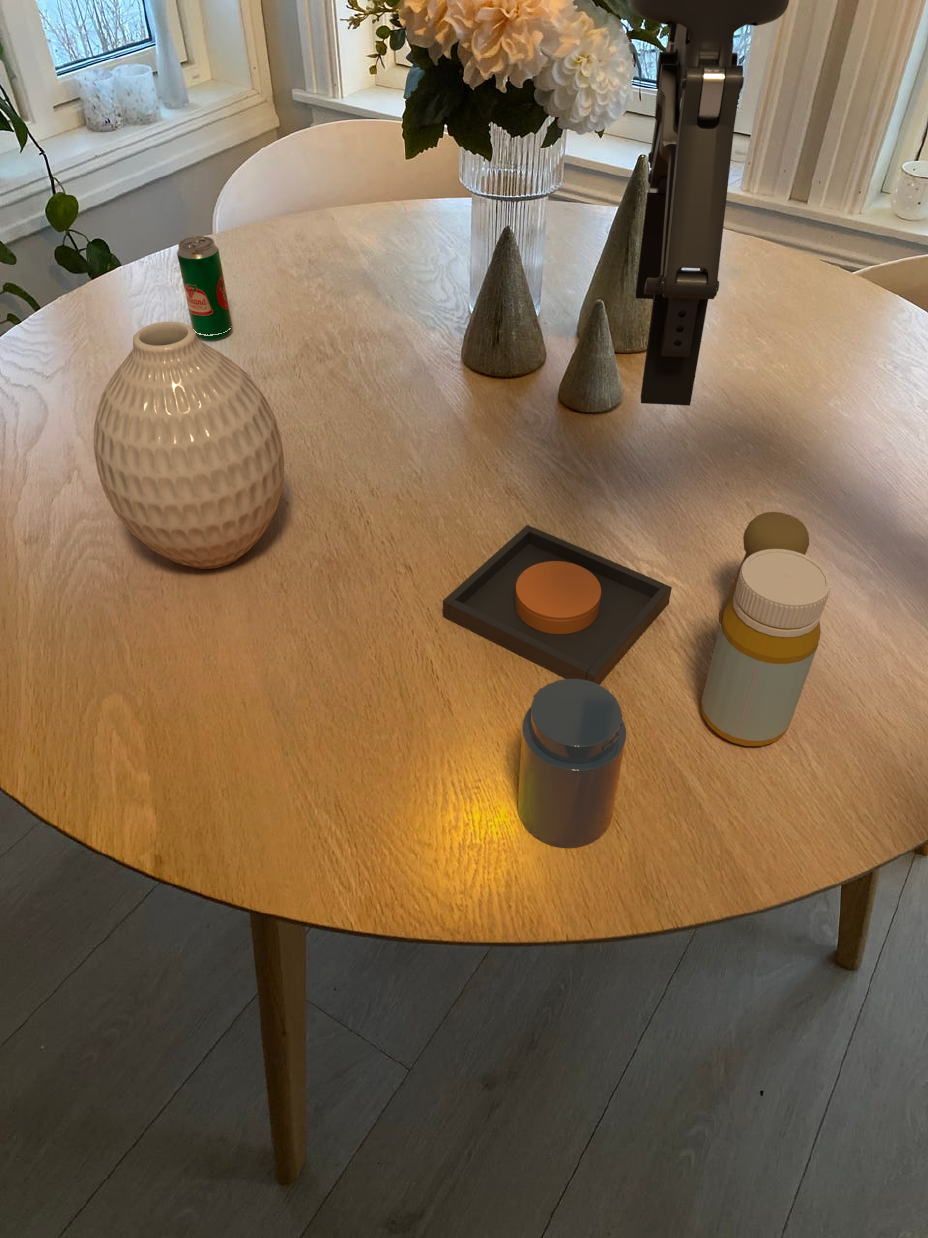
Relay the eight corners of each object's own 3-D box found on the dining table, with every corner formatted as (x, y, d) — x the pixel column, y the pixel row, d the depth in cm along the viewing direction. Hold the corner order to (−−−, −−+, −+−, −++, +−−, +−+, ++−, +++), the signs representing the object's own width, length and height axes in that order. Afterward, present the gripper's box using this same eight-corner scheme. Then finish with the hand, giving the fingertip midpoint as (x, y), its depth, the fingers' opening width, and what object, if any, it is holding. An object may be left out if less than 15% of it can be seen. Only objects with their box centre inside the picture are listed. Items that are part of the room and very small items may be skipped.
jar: (629, 799, 71) (648, 702, 64) (580, 865, 67) (595, 770, 60) (550, 755, 74) (559, 658, 67) (499, 816, 70) (502, 720, 63)
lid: (497, 611, 86) (498, 594, 84) (543, 567, 90) (544, 550, 89) (570, 646, 83) (572, 629, 81) (614, 599, 87) (616, 581, 86)
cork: (784, 652, 83) (816, 553, 75) (714, 636, 84) (738, 537, 77) (790, 607, 87) (821, 509, 79) (723, 593, 88) (747, 495, 81)
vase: (91, 577, 90) (15, 360, 75) (188, 483, 101) (139, 278, 86) (240, 620, 86) (192, 400, 70) (325, 518, 97) (299, 308, 81)
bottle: (782, 761, 74) (833, 619, 64) (692, 737, 76) (727, 595, 66) (792, 698, 79) (841, 557, 69) (707, 677, 81) (742, 536, 70)
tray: (669, 603, 87) (672, 586, 86) (593, 692, 79) (595, 676, 78) (526, 540, 94) (527, 524, 93) (442, 616, 86) (442, 600, 85)
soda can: (186, 335, 125) (166, 244, 117) (214, 321, 128) (196, 231, 120) (213, 346, 123) (195, 254, 115) (241, 331, 126) (225, 240, 118)
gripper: (632, -116, 53) (599, 260, 68) (645, -40, 35) (596, 453, 50) (770, -116, 53) (707, 264, 67) (855, -38, 35) (744, 460, 49)
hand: (660, 345), depth 58 cm, fingers open, 13 cm apart
